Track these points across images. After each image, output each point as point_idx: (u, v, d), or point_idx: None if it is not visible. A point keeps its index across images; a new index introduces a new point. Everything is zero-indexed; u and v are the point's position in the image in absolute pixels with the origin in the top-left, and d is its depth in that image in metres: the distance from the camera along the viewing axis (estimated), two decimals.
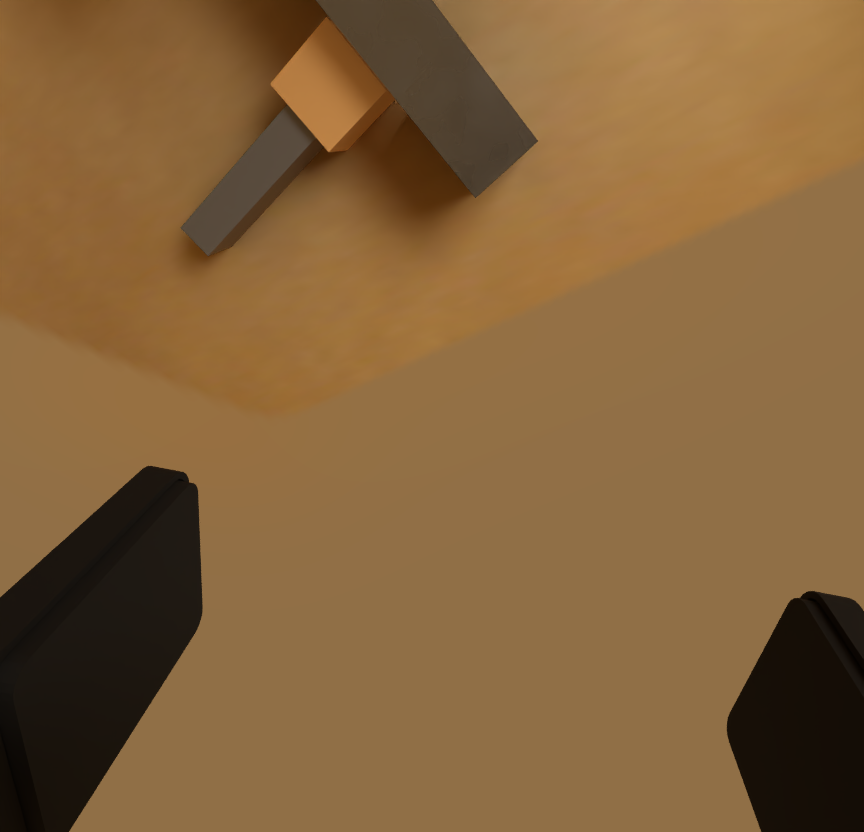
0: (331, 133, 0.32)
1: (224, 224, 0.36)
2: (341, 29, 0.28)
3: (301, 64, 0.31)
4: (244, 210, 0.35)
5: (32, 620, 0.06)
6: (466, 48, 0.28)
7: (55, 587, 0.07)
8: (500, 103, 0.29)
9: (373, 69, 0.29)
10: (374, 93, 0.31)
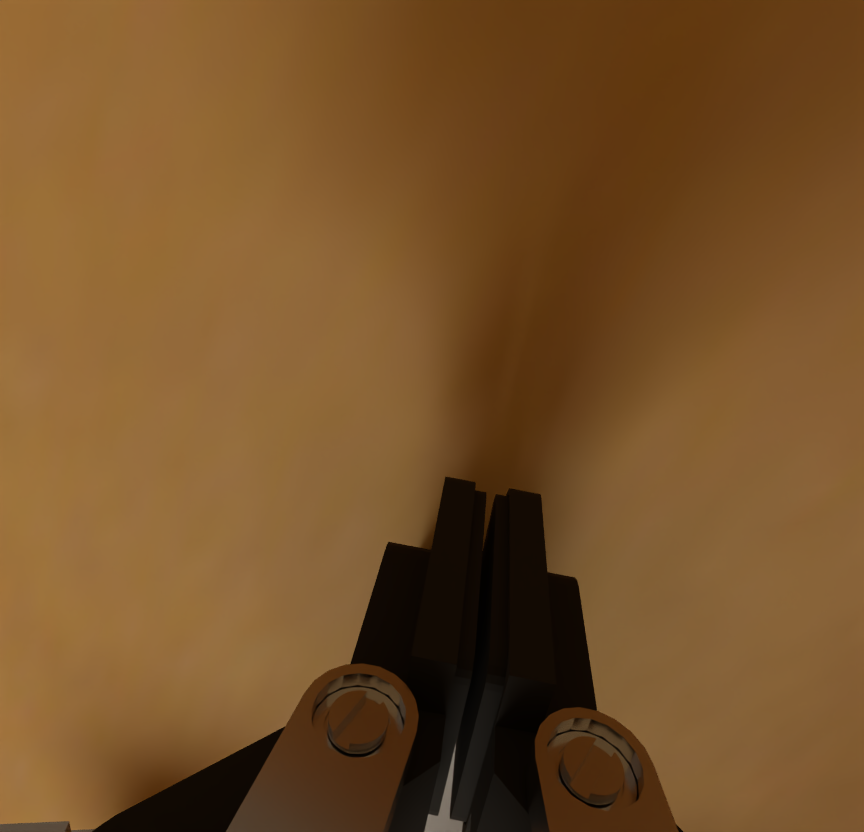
0: None
1: None
2: None
3: None
4: None
5: (461, 616, 0.07)
6: None
7: (456, 587, 0.07)
8: None
9: None
10: None
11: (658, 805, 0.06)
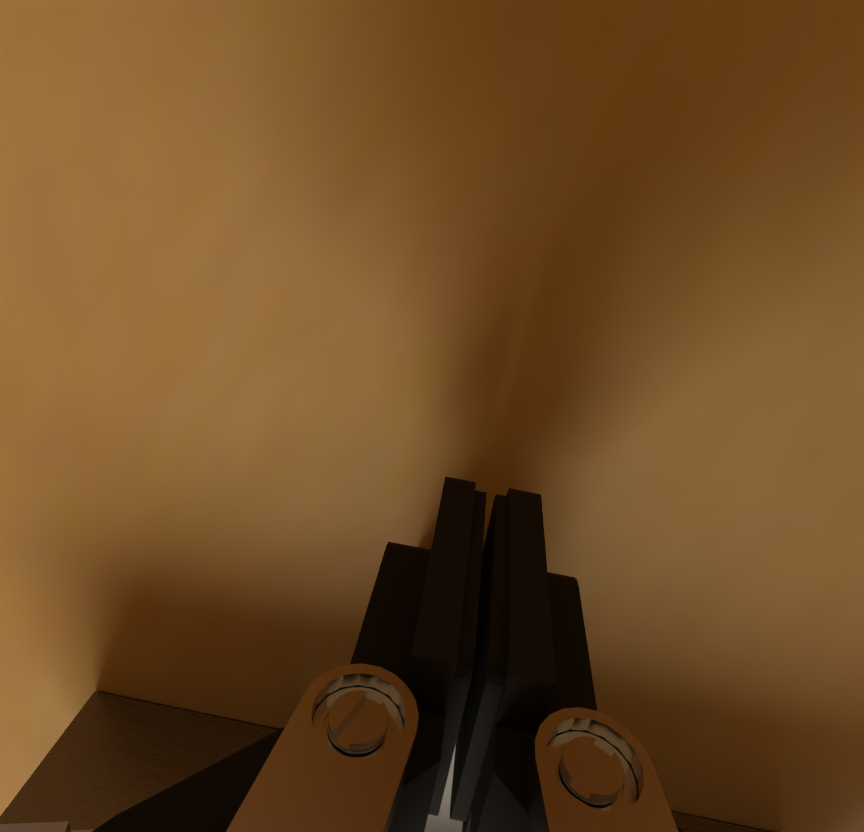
0: None
1: None
2: None
3: None
4: None
5: (462, 616, 0.07)
6: None
7: (456, 587, 0.07)
8: None
9: None
10: None
11: (658, 805, 0.05)
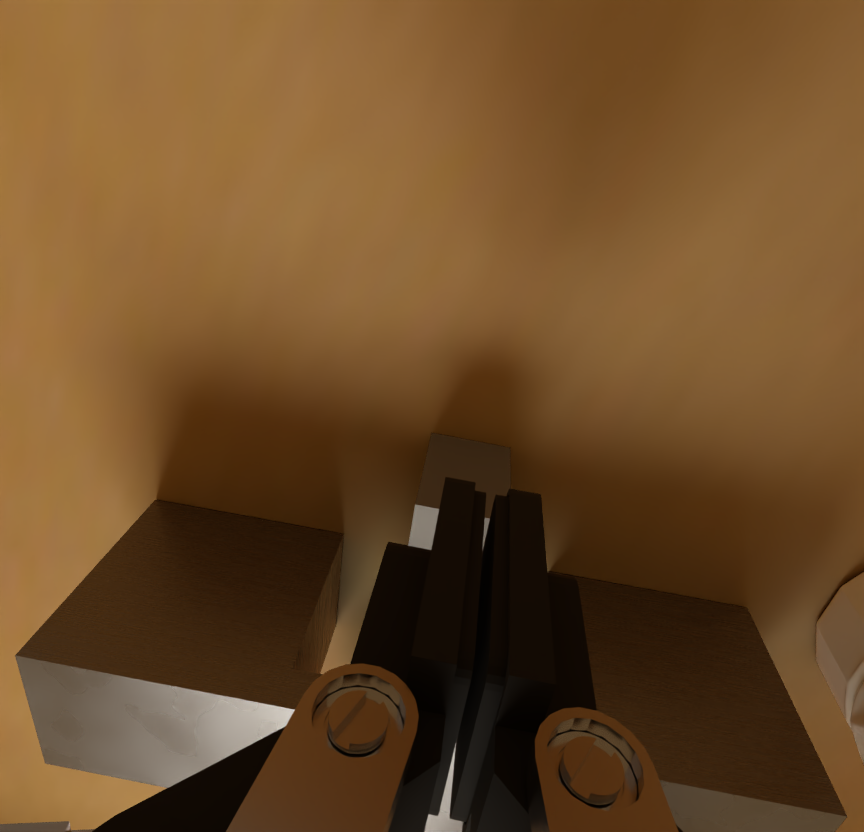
0: None
1: None
2: None
3: None
4: None
5: (461, 616, 0.07)
6: None
7: (456, 587, 0.07)
8: (138, 774, 0.15)
9: None
10: None
11: (658, 805, 0.06)
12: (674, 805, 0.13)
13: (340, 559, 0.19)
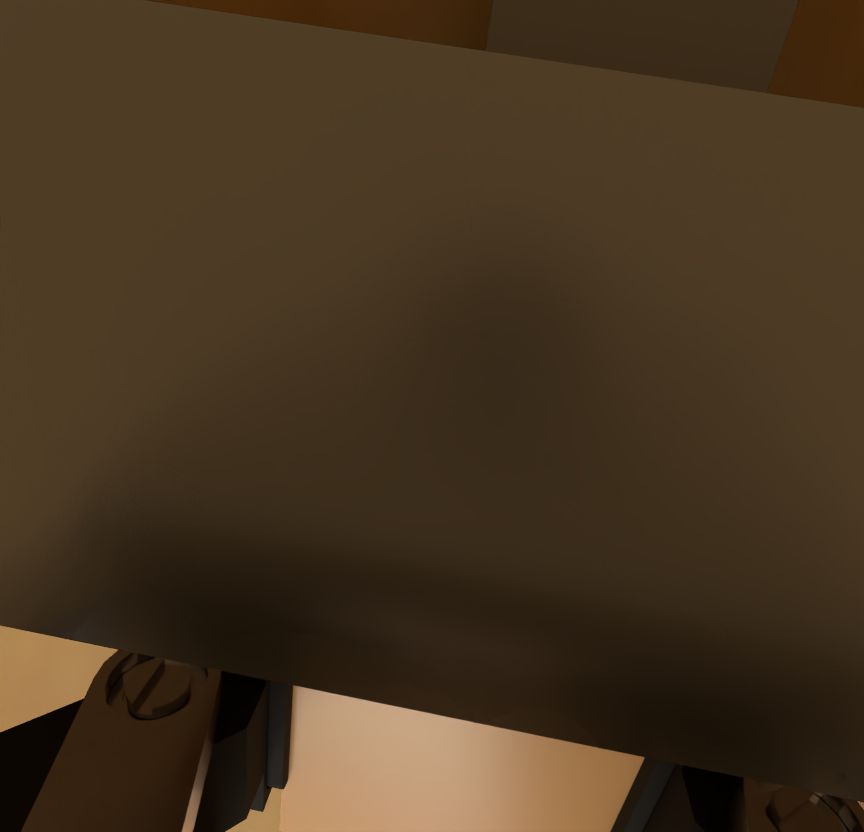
0: (331, 700, 0.07)
1: None
2: None
3: (576, 815, 0.08)
4: None
5: None
6: None
7: None
8: None
9: (344, 48, 0.03)
10: None
11: None
12: None
13: None
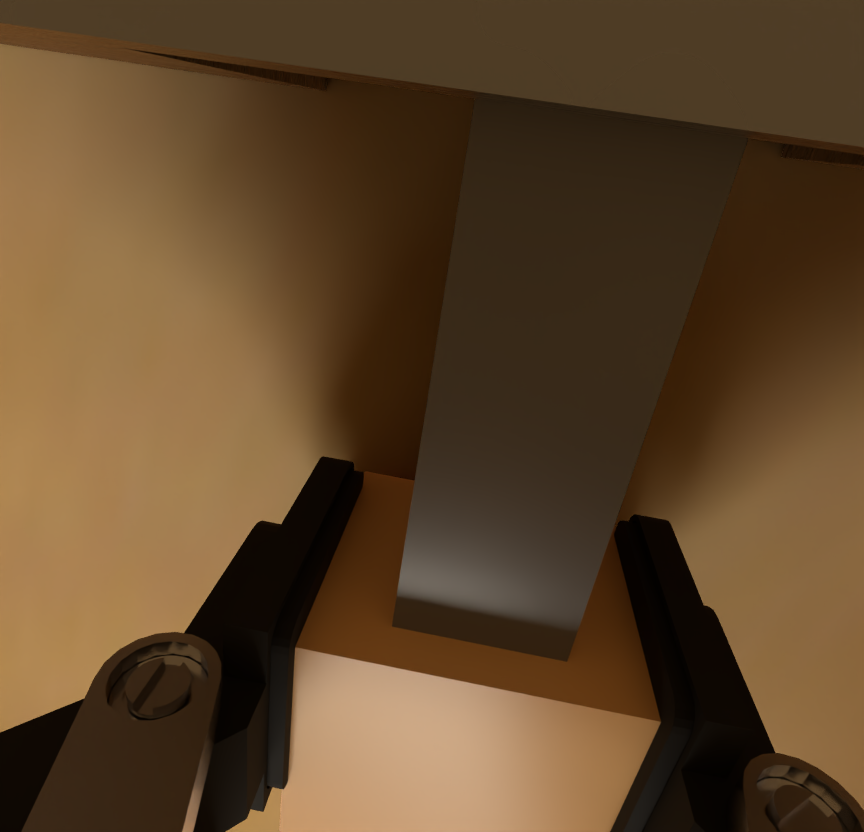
0: (330, 700, 0.07)
1: None
2: None
3: (576, 816, 0.08)
4: None
5: (290, 587, 0.07)
6: None
7: (294, 559, 0.07)
8: None
9: None
10: None
11: None
12: None
13: None
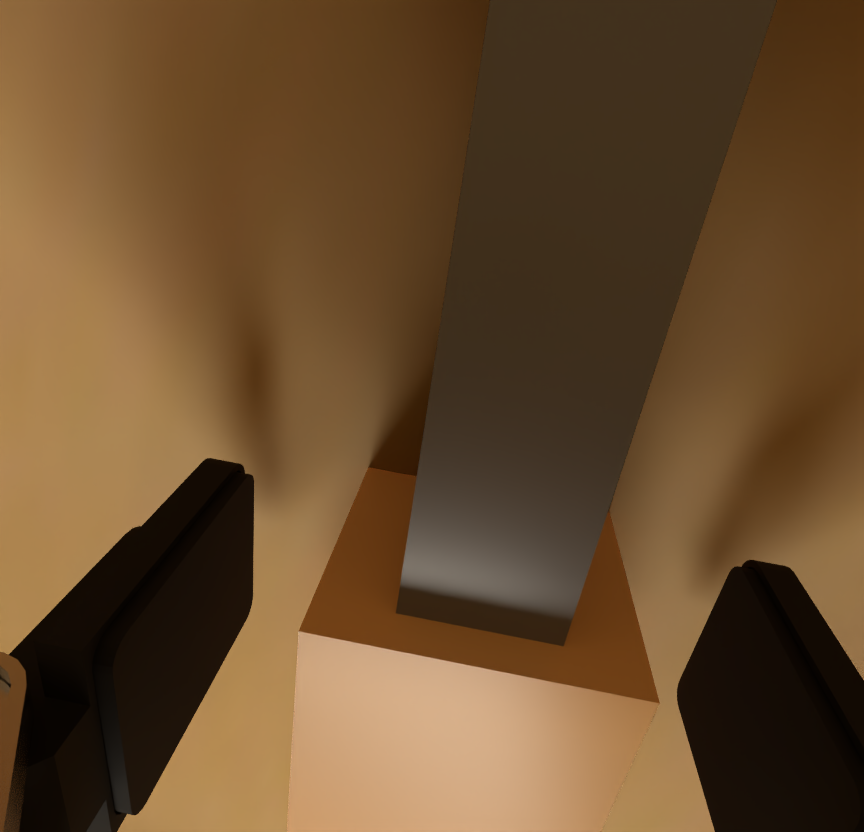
0: (337, 684, 0.08)
1: None
2: None
3: (573, 794, 0.08)
4: (502, 76, 0.05)
5: (124, 600, 0.07)
6: None
7: (140, 570, 0.07)
8: None
9: None
10: (308, 822, 0.09)
11: None
12: None
13: None
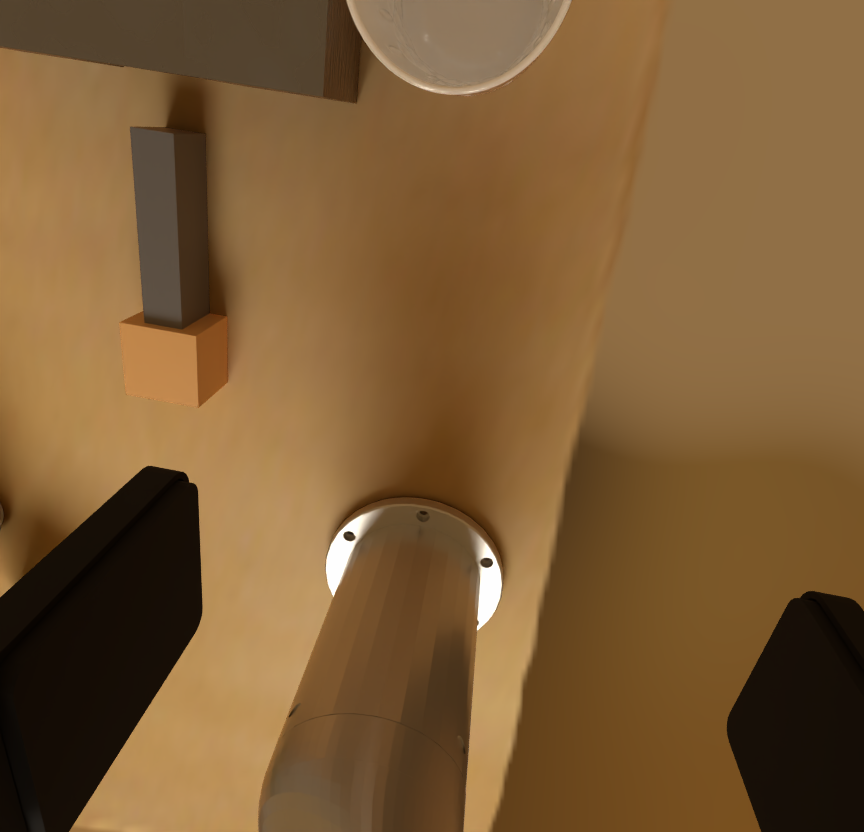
0: (129, 337, 0.33)
1: (143, 177, 0.30)
2: None
3: (187, 367, 0.34)
4: (139, 209, 0.31)
5: (32, 621, 0.06)
6: (27, 48, 0.26)
7: (55, 587, 0.07)
8: None
9: None
10: (130, 386, 0.35)
11: None
12: None
13: None
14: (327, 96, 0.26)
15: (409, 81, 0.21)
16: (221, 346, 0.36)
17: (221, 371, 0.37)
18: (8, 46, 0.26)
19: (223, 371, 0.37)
